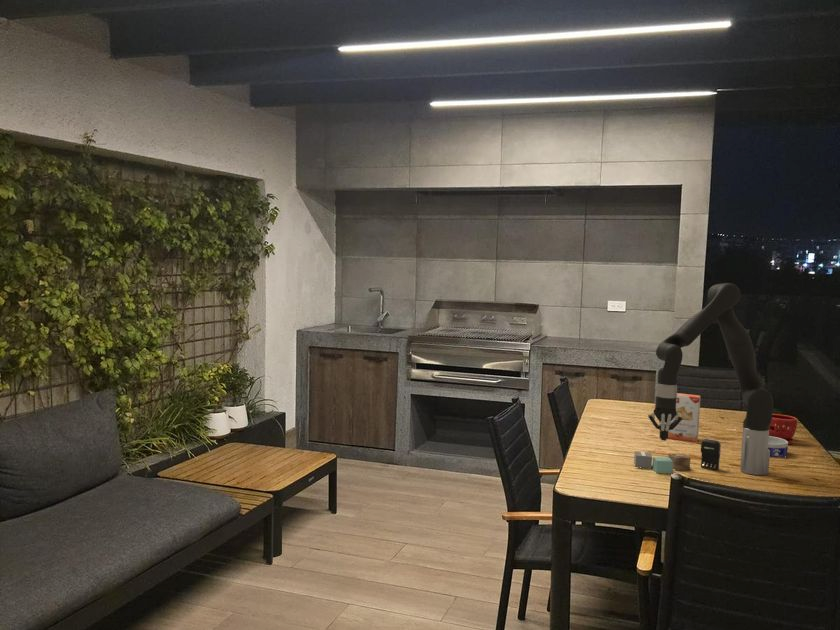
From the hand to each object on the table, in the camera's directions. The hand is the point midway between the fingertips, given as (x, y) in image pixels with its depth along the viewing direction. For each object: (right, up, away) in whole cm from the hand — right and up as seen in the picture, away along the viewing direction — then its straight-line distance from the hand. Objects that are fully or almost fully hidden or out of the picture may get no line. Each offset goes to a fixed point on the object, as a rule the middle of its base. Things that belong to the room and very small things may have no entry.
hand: (663, 440), depth 271 cm
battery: (+20, -13, +6) cm, 25 cm away
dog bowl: (+56, -12, +33) cm, 66 cm away
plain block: (0, -12, +1) cm, 12 cm away
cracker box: (+26, -9, +53) cm, 60 cm away
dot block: (+8, -12, +6) cm, 16 cm away
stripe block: (-6, -12, +7) cm, 15 cm away
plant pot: (+72, -11, +53) cm, 90 cm away
